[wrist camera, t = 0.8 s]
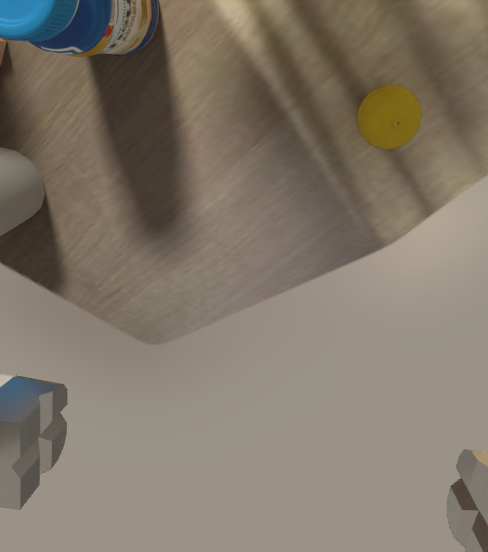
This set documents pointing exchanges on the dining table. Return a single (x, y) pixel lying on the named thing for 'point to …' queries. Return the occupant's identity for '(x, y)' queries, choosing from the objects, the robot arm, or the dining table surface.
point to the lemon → (389, 117)
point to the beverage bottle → (80, 25)
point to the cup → (18, 189)
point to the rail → (2, 49)
